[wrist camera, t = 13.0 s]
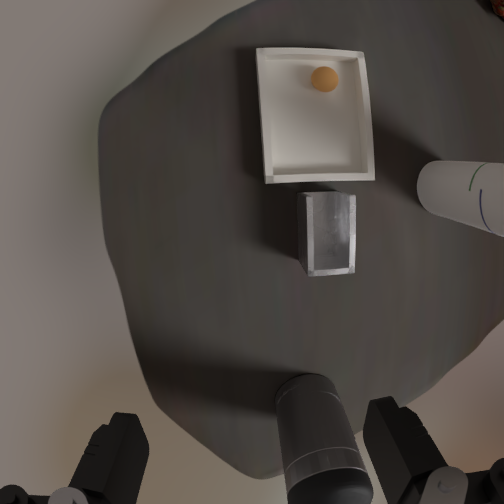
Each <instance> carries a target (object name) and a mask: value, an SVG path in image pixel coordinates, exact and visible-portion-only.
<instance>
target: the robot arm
mask: <svg viewBox="0 0 504 504" xmlns="http://www.w3.org/2000/svg"><path fill="white" fill-rule="evenodd" d="M275 407H276V415H277V423H278V431H279V438H280V446H281V453H282V461H283V468H284V476H285V483H286V490H287V499H288V504H371V501H372V498H373V487H372V484H371V481H370V478H369V476H368V473H367V470H366V467H365V465H364V462H363V459H362V457H361V455H360V452H359V449H358V446H357V443H356V441H355V437H354V434H353V431H352V429H351V426H350V423H349V421H348V418H347V416H346V413H345V410H344V408H343V405H342V403H341V400H340V398H339V396H338V394H337V391H336V389H335V386H334V384H333V383H332V382H331V381H330V380H329V379H328V378H326V377H324V376H321V375H316V374H307V375H301V376H298V377H295V378H293V379H291V380H289V381H287V382H286V383H285V384H283V385H282V386H281V387H280V388H279V390H278V392H277V393H276V397H275ZM363 439H364V443H365V446H366V449H367V451H368V454H369V456H370V458H371V461H372V464H373V466H374V469H375V471H376V474H377V476H378V479H379V482H380V484H381V487H382V489H383V492H384V495H385V497H386V500H387V502H388V504H504V458H501V459H499V460H497V461H496V462H495V463H494V464H493V466H492V467H491V468H490V470H485V471H479V472H473V473H464V472H463V471H462V470H460V469H458V468H456V467H451V466H448V465H447V463H446V462H445V460H444V458H443V456H442V455H441V453H440V451H439V450H438V448H437V446H436V445H435V443H434V441H433V440H432V438H431V437H430V435H428V432H427V430H426V428H425V427H424V426H423V424H422V422H421V420H420V419H419V417H418V416H417V414H416V413H414V412H413V411H412V410H410V409H409V408H407V407H406V406H405V407H401V408H399V407H398V405H397V403H396V402H395V400H394V398H393V397H392V396H388V397H383V398H379V399H374V400H370V402H369V405H368V409H367V414H366V419H365V423H364V427H363ZM148 456H149V444H148V440H147V438H146V435H145V433H144V431H143V428H142V426H141V423H140V421H139V418H138V416H137V415H136V414H130V413H119V412H116V413H114V414H113V416H112V418H111V420H110V423H109V425H105V424H103V425H101V426H100V427H99V428H98V429H97V430H96V431H95V432H94V433H93V435H92V437H91V439H90V441H89V443H88V446H87V447H86V449H85V451H84V454H83V455H82V458H81V460H80V462H79V464H78V466H77V468H76V471H75V473H74V475H73V477H72V479H71V482H70V484H69V486H68V487H64V488H60V489H58V490H56V491H55V492H53V493H52V495H51V496H37V495H28V494H27V493H26V492H25V490H24V489H23V488H21V487H20V486H17V485H7V486H4V487H3V488H2V489H0V504H136V501H137V497H138V493H139V490H140V485H141V482H142V478H143V475H144V471H145V467H146V464H147V460H148Z"/></svg>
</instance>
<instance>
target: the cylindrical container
mask: <svg viewBox="0 0 504 504" xmlns="http://www.w3.org/2000/svg"><path fill="white" fill-rule="evenodd" d="M417 194H418V198H419V200H420V203H421V204H422V206H423V207H424V208H425V209H426V210H427V211H428V212H430V213H432V214H435V215H439V216H442V217H445V218H449V219H452V220H455V221H458V222H461V223H464V224H467V225H470V226H473V227H476V228H479V229H482V230H485V231H488V232H491V233H494V234H497V235H500V236H502V237H504V164H502V163H487V162H467V161H432V162H429V163H428V164H426V165H425V166H424V167H423V169H422V170H421V172H420V174H419V176H418V181H417Z"/></svg>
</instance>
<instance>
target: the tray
mask: <svg viewBox="0 0 504 504" xmlns="http://www.w3.org/2000/svg"><path fill="white" fill-rule="evenodd" d="M255 58H256V71H257V84H258V98H259V112H260V126H261V140H262V156H263V171H264V183H266V184H268V183H287V182H311V181H350V180H375V168H374V147H373V132H372V119H371V108H370V98H369V89H368V81H367V73H366V66H365V59H364V52H357V51H347V50H335V49H319V48H256V57H255ZM322 66H326V67H330V68H332V69H333V70H334V71H335V72H336V73H337V75H338V79H339V81H338V85H337V87H336V88H335V89H334V90H332V91H330V92H321V91H319V90H317V89H316V88H315V87H314V86H313V84H312V82H311V75H312V73H313V71H314V70H315V69H317V68H318V67H322Z"/></svg>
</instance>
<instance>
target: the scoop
mask: <svg viewBox="0 0 504 504" xmlns="http://www.w3.org/2000/svg"><path fill="white" fill-rule="evenodd" d="M296 196H297V223H298V260H299V262H300V264H301V265H302V267H303V269H304V271H305V272H306V274H307V276H308V277H310V276H323V275H335V274H347V273H354V272H355V234H356V201H355V195H352V194H348V193H344V192H340V191H325V192H297V193H296Z"/></svg>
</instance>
